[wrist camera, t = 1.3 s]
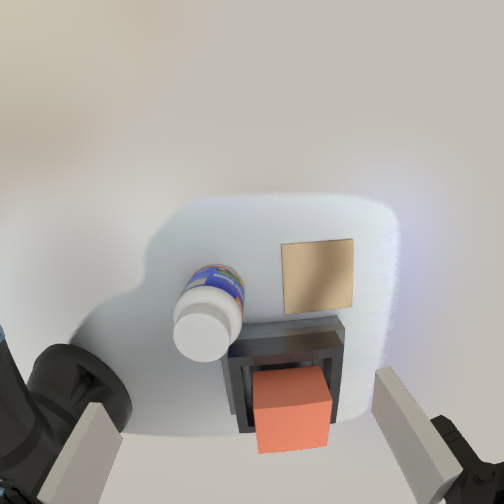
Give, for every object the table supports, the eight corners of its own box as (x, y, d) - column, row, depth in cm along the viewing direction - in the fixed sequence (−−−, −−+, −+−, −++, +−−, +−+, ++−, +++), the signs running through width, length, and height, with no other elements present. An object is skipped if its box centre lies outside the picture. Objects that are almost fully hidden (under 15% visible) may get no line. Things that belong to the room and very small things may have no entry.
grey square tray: (232, 397, 32) (229, 433, 26) (221, 325, 29) (215, 358, 23) (332, 388, 31) (344, 421, 26) (336, 315, 29) (354, 344, 23)
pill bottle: (255, 295, 29) (258, 347, 19) (213, 324, 29) (198, 382, 20) (220, 251, 28) (206, 287, 18) (178, 283, 28) (147, 329, 19)
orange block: (257, 416, 26) (258, 453, 21) (252, 371, 24) (253, 409, 20) (317, 410, 26) (326, 445, 21) (319, 364, 24) (332, 400, 19)
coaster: (284, 312, 29) (285, 314, 29) (281, 244, 27) (281, 245, 27) (350, 305, 29) (352, 306, 29) (352, 239, 27) (353, 239, 27)
